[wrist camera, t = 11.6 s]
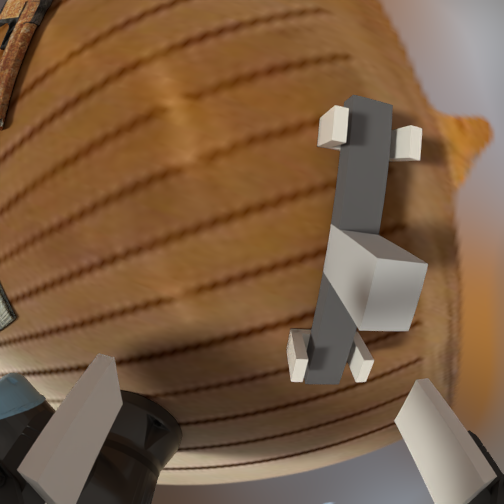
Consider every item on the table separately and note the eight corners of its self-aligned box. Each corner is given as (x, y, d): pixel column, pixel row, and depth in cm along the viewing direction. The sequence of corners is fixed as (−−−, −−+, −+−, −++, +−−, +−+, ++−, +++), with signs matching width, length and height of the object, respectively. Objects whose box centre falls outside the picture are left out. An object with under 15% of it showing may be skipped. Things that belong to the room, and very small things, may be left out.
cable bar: (333, 369, 33) (357, 441, 21) (302, 368, 33) (317, 444, 21) (380, 110, 25) (446, 82, 13) (344, 101, 25) (396, 62, 13)
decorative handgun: (-42, 129, 23) (-6, 130, 23) (13, -16, 16) (66, -39, 16) (-29, 128, 26) (9, 130, 26) (23, -11, 19) (76, -31, 19)
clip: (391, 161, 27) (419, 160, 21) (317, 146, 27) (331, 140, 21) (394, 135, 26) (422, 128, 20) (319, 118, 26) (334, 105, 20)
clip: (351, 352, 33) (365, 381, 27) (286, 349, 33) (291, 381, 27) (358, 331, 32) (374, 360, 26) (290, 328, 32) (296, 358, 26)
